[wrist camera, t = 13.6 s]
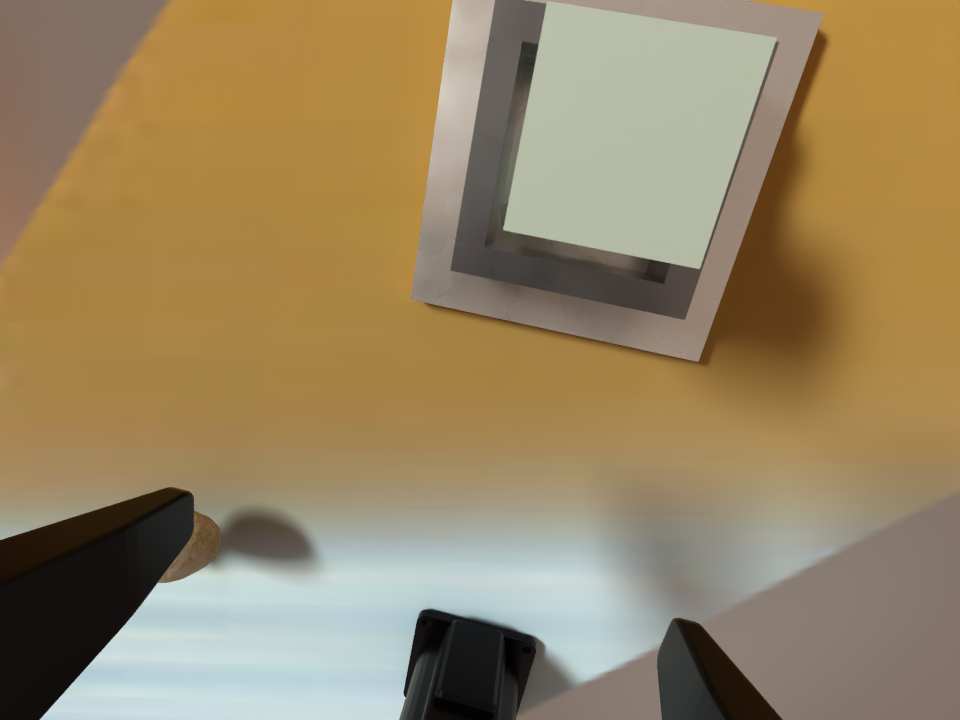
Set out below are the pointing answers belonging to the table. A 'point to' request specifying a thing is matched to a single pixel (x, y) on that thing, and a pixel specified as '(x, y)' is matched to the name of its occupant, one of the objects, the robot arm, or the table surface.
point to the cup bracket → (563, 266)
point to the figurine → (196, 550)
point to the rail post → (633, 131)
